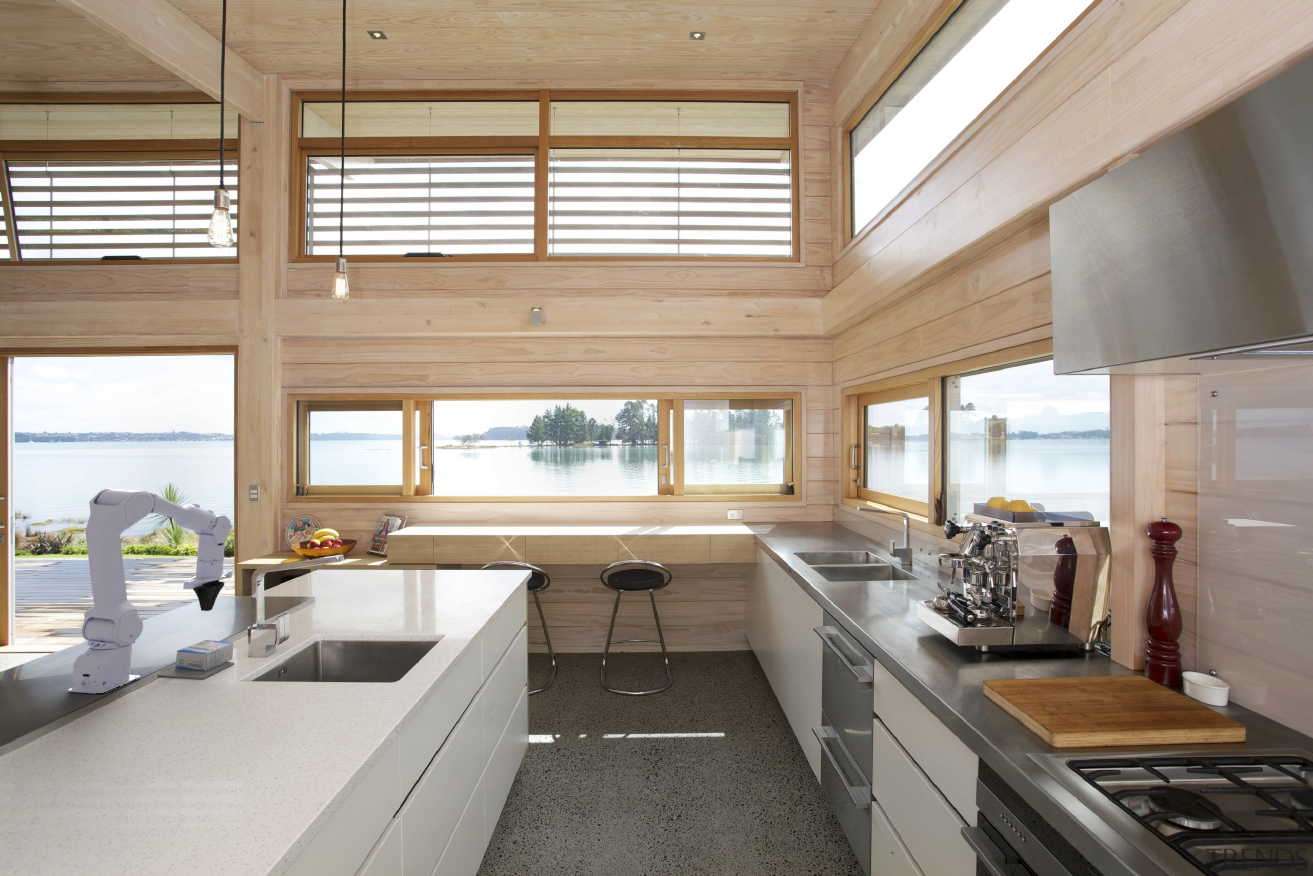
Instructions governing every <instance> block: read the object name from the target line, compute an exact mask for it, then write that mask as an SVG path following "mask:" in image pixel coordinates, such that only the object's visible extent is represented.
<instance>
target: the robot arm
mask: <svg viewBox="0 0 1313 876" xmlns="http://www.w3.org/2000/svg"><path fill="white" fill-rule="evenodd" d="M88 504H89V512H90V514H89V517H88V521H87V523H86V528H85V538H86V546H87V547H86V548H87V558H88V563H89V564H88V566H89V573H90V583H91V590H92V599H93V606H92V607H91V608H89V609H88V610H87V611H85V612H84V613H83V614H84V615H83V616H84V621H83V624H82V626H81V632H80V633H81V636H82V638H83V639H84V640H85V641H87V646H89V648H88V649H87V650H86V651H85V652H84V653H82V654H80V655H79V656H77V658H76V659H75V660H74V663H73V669H72V671H73V672H72V682H71V683H72V684H71V687H70V688H68V689H67V692H69V693H81V694H85V693H86V694H96V693H103V692H106V691H108V690H111V689H113V688H115V689H117V688H116V687H118V686H120V687H122V686H124V684H125V685H127V684H130V683H131V681H132V682H134V681H136V680H138V679H140V678H141V675H136V674H131V667H132V653H133V644H135V643H136V640H138V638H140V636H141V635H142V632H143V630H144V622H143V619H142V618H141V617H140V616H139V614H138V608H137V607H135V606H134V605H133V604H132V603H131V602H130V601H129V600H128V596H127V586H126V577H125V576H126V575H125V567H124V560H123V558H124V557H123V551H122V540H121V535H122V533H124V531H126V530H128V529H130V527H132V526H134V525H135V524H137V523H138V522H140V521H142V520H143V519H144V518H145V517H147V516H149V515H150V514H154V513H155V514H158V515H162V516H165V517H168V518H172V519H173V522H174V524H175V525H177V526H179V527H182V528H185V529H186V530H187V529H188V530H190V531H193V532H194V534H195V535H196V536H198V544H197V556H196V557H197V558H196V559H197V560H196V571H195V575H194V576H193V577H191V578H189V579H187V580H184V581H183V585H182V586H183V588H182V589H183V590H192V591H194V593H195V595H196V597H197V599H198V603H199V608H200V611H204V612H210V611H212V610H213V608H214V606H215V603H216V600H217V598H218V595H219V594H220V592H221V591H222V590H223V587H224V586H225V581H223V580H226V579H230V578H233V570H231V569H230V570H226V569H224V558H225V545H226V542H227V541H228V536H229V533H230V532H231V531H232V528H233V524H232V523H231V520H230V519H229V518H228V517H227V516H226V515H222V514H221V515H220V514H215V513H214V511H213V510H211V509H207V510H206V509H204V508H201V505H200V504H198V503H191V504H189V503H188V504H184V505H180V504H179V503H175V502H173V501H172V500H169V499H166V498H165V497H162V496H159V495H158V494H157V493H153V492H149V491H146V490H132V489H131V490H129V489H128V490H127V489H117V488H113V487H110V488H109V487H108V488H104V489H102V490H100V491H99V492H98V493H97V494H95V495H94V497H92V498H91V499H90V501H88ZM220 580H222V581H220ZM139 677H140V678H139ZM135 679H136V680H135ZM133 680H134V681H133ZM118 688H119V687H118ZM113 690H114V689H113ZM111 691H112V690H111ZM108 692H109V691H108ZM106 693H107V692H106Z"/></svg>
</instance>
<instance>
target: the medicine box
mask: <svg viewBox="0 0 1313 876" xmlns="http://www.w3.org/2000/svg"><path fill="white" fill-rule="evenodd" d="M233 651H234V642H231V641H219V640H209V639H205V640H201V641H199V642H196V643H194V644H191V645H188V646H186V647H184V648H181V649H178V650H176V657H175V658H176V659H175V667H176V668H183V669H193V670H202V671H206V670H209V669H211V668H213V667H216V666H218V665H220V664H223V663H225V662H230V661H231V660H233V659H234V658H233V656H234V652H233Z"/></svg>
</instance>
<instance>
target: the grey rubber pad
mask: <svg viewBox="0 0 1313 876" xmlns="http://www.w3.org/2000/svg"><path fill="white" fill-rule="evenodd" d="M233 665H235V662H233V661H231V662H230V661H227V662H225V663H223V664H220V665H218V666H216V667H213V668H211V669H209V670H206V671H202V670H193V669H183V668H176V666H174V667H172V668H170V669H168V670H165V671H162V672H161V673H158V674H157V675H156V676H157V677H159V678H160V677H161V678H176V679H187V680H189V679H191V680H206V679H207V678H209V677H211V676H213V675H215V674H217V673H220V672H222V671H223V670H226V669H227V668H229V667H231V666H233Z"/></svg>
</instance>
